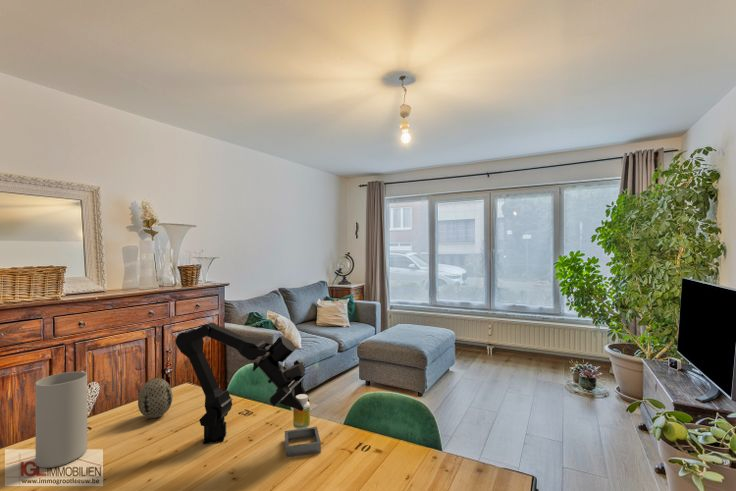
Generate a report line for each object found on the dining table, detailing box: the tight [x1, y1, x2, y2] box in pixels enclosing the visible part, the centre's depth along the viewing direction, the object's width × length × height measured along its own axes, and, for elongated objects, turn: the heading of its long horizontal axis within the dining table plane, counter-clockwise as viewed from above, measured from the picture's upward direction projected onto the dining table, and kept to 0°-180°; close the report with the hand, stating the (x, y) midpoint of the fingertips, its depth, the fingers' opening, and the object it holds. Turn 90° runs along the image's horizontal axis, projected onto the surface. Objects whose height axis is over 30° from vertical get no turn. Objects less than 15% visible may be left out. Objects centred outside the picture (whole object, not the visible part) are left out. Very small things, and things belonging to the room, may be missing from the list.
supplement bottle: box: [292, 394, 311, 430], centre depth 120 cm, size 5×5×10 cm
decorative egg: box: [137, 377, 174, 419], centre depth 141 cm, size 12×12×15 cm
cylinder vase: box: [35, 371, 88, 469], centre depth 114 cm, size 12×12×25 cm
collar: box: [284, 426, 322, 459], centre depth 119 cm, size 11×11×3 cm
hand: (305, 406), depth 119 cm, fingers closed on supplement bottle, 5 cm apart
